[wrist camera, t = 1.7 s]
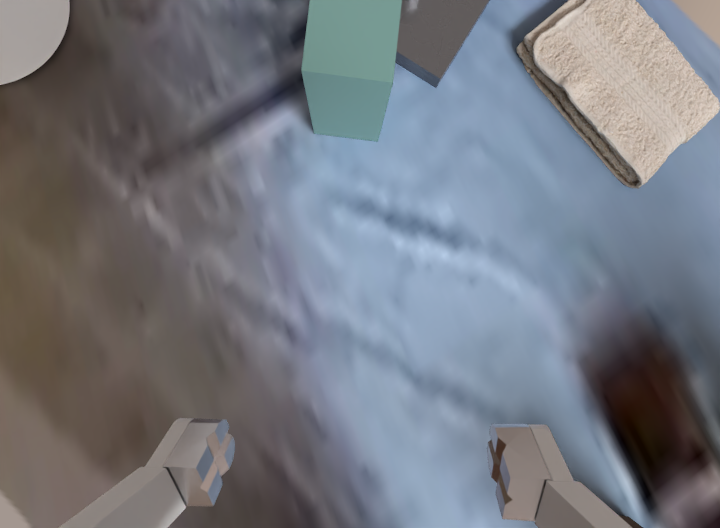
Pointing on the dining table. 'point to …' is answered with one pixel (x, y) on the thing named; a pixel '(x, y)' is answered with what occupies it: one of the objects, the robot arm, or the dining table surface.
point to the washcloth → (618, 84)
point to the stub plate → (434, 34)
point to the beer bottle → (630, 522)
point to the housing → (350, 65)
